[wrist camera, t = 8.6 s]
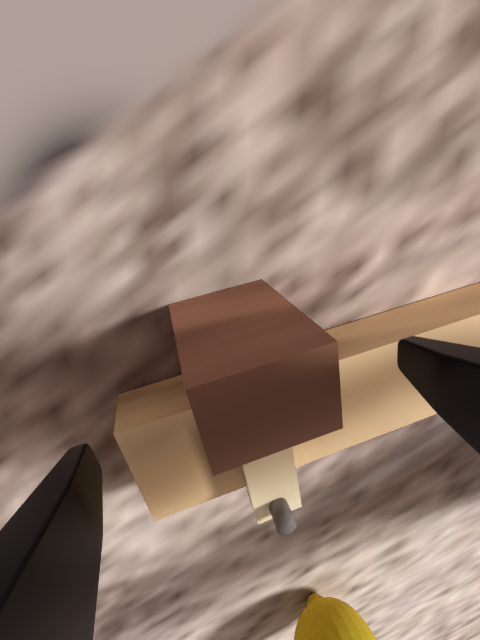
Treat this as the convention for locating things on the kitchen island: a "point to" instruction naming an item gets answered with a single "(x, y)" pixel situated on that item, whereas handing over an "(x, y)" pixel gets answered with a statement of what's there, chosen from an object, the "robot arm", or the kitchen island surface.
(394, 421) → the plank
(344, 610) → the lemon
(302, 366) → the chocolate colored brick
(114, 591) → the kitchen island surface
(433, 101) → the kitchen island surface
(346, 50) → the kitchen island surface
